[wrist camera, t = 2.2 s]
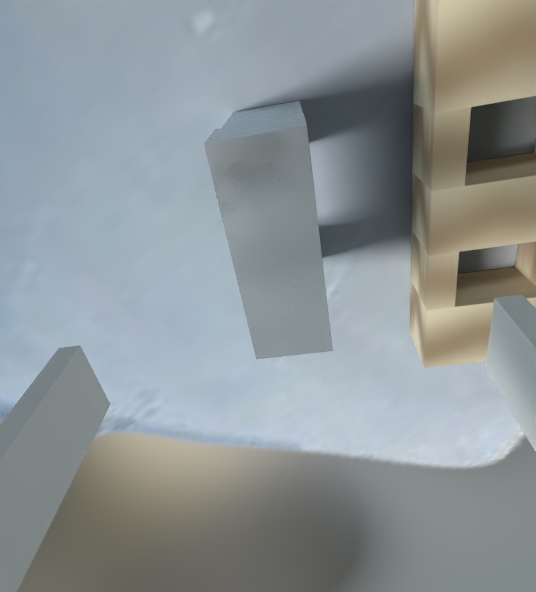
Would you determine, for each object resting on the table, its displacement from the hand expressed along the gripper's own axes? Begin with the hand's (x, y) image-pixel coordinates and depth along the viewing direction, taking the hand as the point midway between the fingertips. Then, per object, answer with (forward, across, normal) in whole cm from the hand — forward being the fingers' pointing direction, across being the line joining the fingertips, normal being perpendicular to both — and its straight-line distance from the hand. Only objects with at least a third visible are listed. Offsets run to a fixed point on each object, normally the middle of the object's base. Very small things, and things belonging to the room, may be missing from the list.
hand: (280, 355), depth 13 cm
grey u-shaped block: (+16, 0, 0) cm, 16 cm away
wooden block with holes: (+16, +13, -2) cm, 21 cm away
